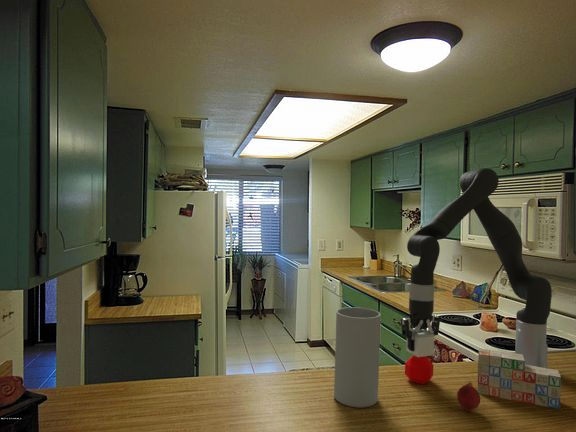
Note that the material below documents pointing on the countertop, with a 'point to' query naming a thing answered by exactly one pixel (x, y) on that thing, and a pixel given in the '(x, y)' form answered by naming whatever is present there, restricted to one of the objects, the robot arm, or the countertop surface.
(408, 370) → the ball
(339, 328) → the cylinder vase
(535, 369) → the stack of blocks
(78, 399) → the countertop surface
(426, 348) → the socket block
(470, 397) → the onion
